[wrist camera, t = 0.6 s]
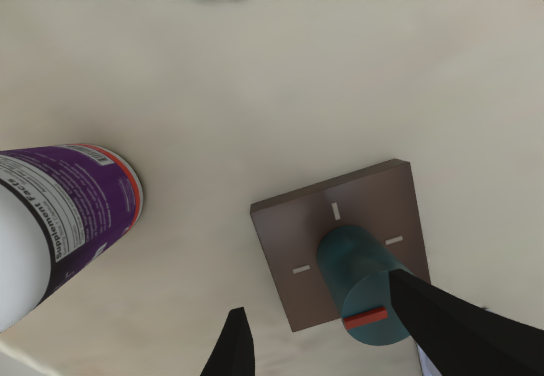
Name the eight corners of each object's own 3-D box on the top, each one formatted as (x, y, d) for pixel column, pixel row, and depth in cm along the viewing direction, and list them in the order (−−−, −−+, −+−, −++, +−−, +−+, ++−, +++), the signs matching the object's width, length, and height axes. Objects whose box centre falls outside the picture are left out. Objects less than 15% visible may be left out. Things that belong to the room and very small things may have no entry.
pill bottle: (71, 246, 22) (-258, 462, 8) (27, 156, 20) (-520, 230, 6) (162, 223, 22) (-7, 399, 8) (127, 131, 20) (-184, 144, 6)
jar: (370, 217, 20) (425, 261, 14) (383, 271, 22) (438, 335, 15) (309, 236, 20) (333, 289, 14) (324, 289, 22) (354, 361, 15)
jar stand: (395, 158, 22) (411, 162, 19) (417, 275, 24) (433, 291, 22) (250, 204, 22) (249, 213, 20) (289, 315, 25) (292, 334, 22)
